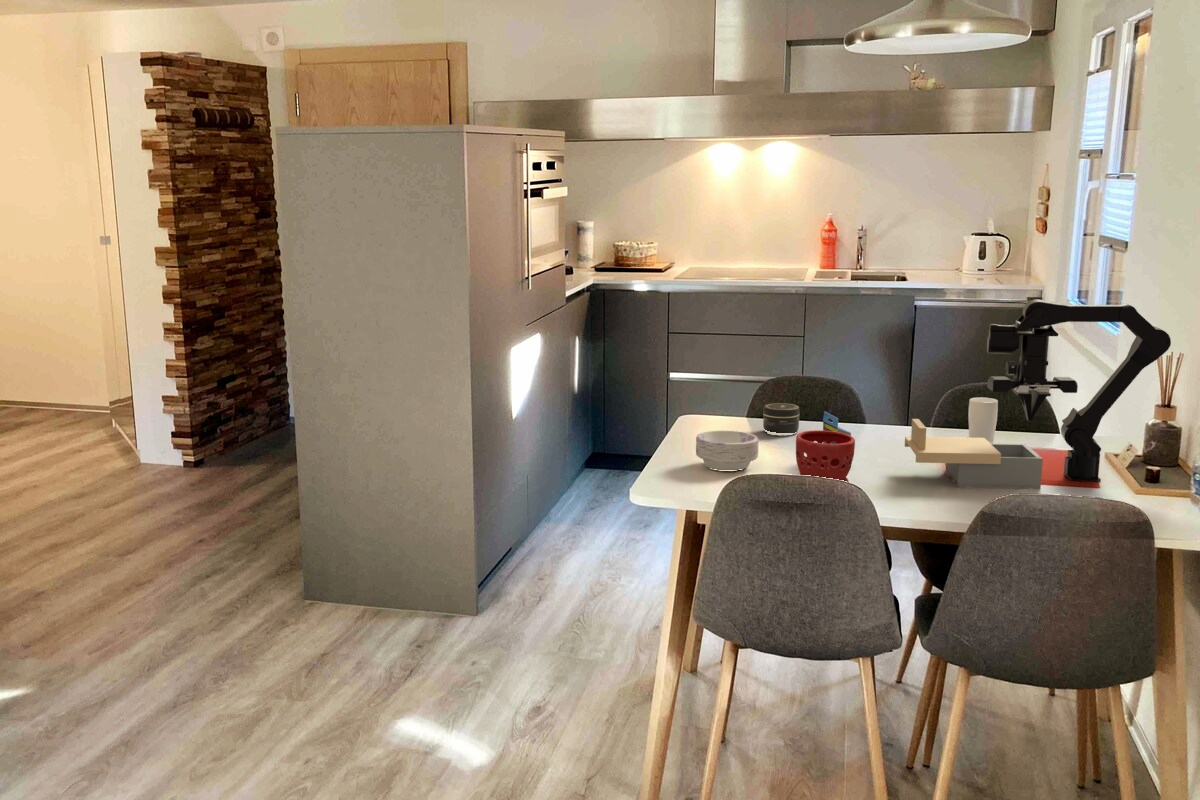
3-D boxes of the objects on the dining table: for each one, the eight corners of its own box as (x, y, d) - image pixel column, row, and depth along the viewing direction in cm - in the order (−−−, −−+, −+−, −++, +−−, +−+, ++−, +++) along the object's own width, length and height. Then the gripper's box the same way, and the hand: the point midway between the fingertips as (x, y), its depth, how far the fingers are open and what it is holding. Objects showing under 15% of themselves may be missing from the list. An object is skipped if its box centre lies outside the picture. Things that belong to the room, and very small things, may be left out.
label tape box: (851, 466, 259) (853, 417, 257) (836, 467, 258) (837, 418, 256) (836, 457, 267) (837, 410, 265) (821, 458, 266) (822, 410, 264)
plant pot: (794, 494, 236) (795, 441, 233) (794, 478, 248) (796, 428, 246) (854, 496, 233) (856, 443, 231) (851, 480, 246) (853, 430, 244)
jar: (794, 428, 300) (794, 402, 299) (803, 436, 291) (803, 409, 289) (759, 429, 300) (759, 403, 298) (767, 437, 290) (767, 410, 289)
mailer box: (1023, 472, 251) (1025, 443, 249) (1040, 488, 237) (1042, 458, 236) (945, 471, 253) (946, 442, 252) (957, 487, 239) (959, 457, 238)
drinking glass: (993, 456, 267) (997, 397, 264) (995, 462, 260) (999, 403, 257) (965, 454, 268) (968, 396, 265) (966, 461, 262) (970, 401, 259)
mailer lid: (983, 447, 252) (985, 417, 250) (1000, 464, 236) (1002, 432, 235) (904, 446, 254) (905, 416, 252) (916, 462, 238) (917, 430, 237)
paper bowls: (770, 467, 259) (771, 435, 257) (730, 479, 248) (731, 446, 247) (723, 456, 270) (723, 426, 268) (682, 467, 259) (683, 436, 258)
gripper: (1065, 349, 250) (1060, 414, 253) (983, 349, 252) (979, 413, 255) (1080, 357, 239) (1075, 424, 242) (995, 356, 241) (991, 423, 244)
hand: (1029, 420), depth 246 cm, fingers closed
